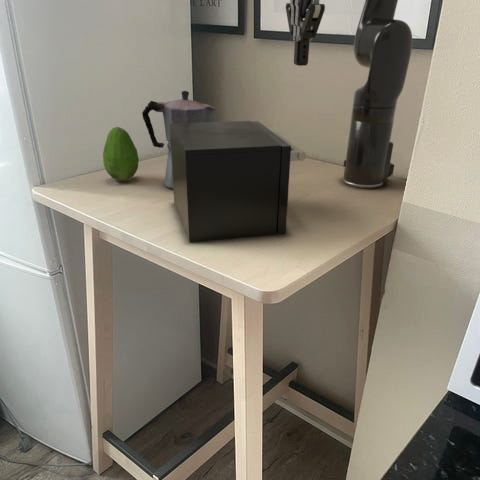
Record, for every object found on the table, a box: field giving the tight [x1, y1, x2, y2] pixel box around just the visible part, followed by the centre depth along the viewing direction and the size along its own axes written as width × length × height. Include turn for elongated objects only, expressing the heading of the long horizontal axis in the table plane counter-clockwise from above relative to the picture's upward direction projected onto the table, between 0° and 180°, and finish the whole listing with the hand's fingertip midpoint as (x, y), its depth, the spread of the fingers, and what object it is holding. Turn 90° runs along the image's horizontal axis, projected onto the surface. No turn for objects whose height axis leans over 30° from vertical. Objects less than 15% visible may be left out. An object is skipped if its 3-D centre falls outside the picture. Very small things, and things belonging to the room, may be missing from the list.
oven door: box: [251, 120, 307, 236], centre depth 95 cm, size 5×20×16 cm, turn 14°
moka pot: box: [141, 90, 216, 190], centre depth 108 cm, size 10×15×20 cm, turn 107°
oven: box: [170, 120, 281, 244], centre depth 93 cm, size 16×20×16 cm
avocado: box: [102, 126, 140, 182], centre depth 113 cm, size 8×8×12 cm
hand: (300, 64), depth 90 cm, fingers closed
